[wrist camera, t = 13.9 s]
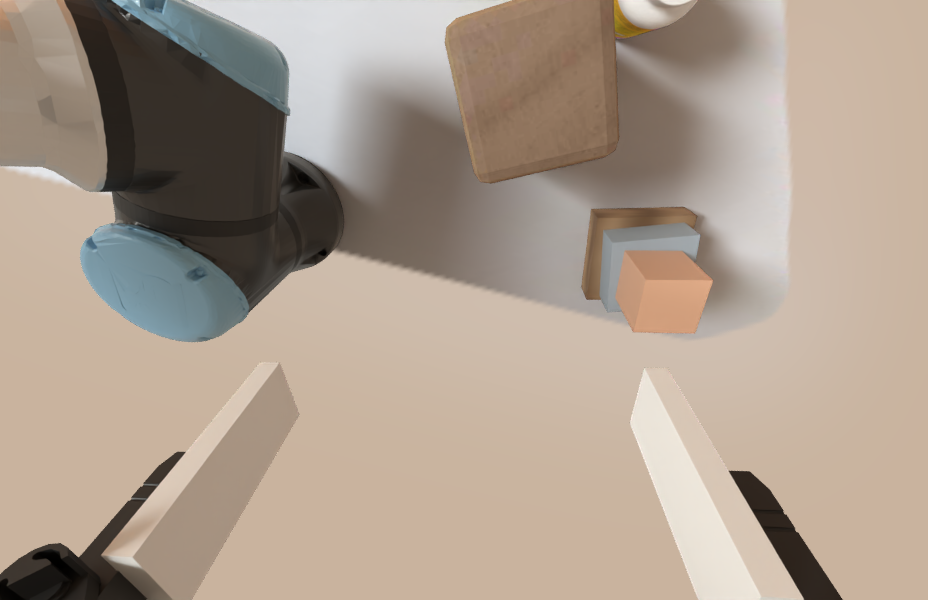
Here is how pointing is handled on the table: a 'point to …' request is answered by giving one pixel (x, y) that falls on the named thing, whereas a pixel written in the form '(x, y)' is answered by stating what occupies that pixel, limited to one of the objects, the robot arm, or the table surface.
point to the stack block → (662, 291)
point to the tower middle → (640, 239)
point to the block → (535, 85)
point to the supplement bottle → (647, 15)
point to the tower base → (617, 220)
